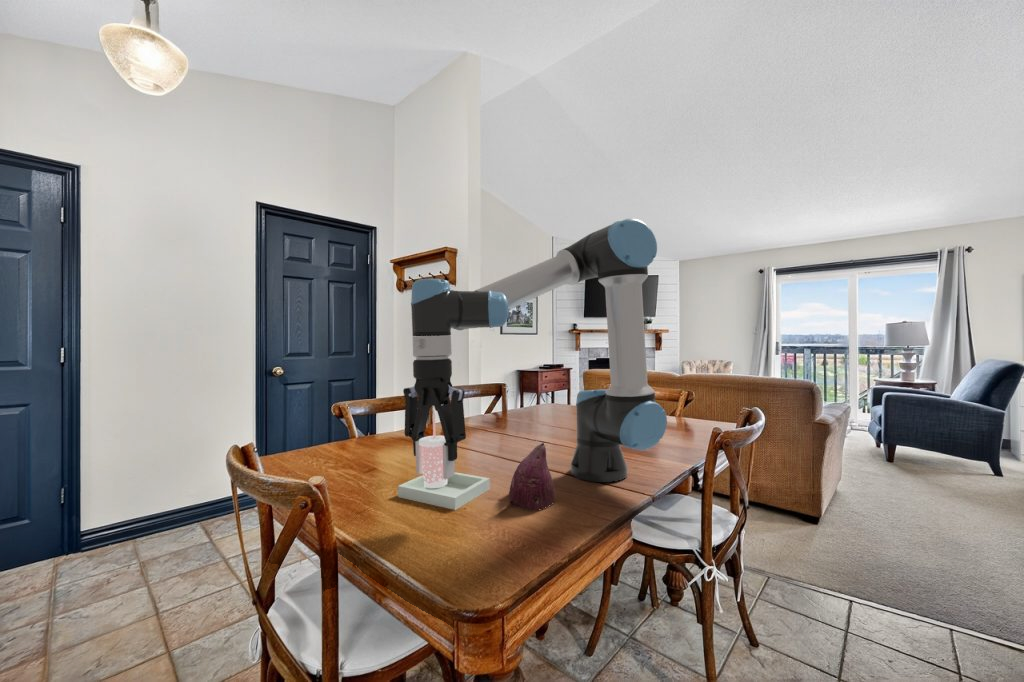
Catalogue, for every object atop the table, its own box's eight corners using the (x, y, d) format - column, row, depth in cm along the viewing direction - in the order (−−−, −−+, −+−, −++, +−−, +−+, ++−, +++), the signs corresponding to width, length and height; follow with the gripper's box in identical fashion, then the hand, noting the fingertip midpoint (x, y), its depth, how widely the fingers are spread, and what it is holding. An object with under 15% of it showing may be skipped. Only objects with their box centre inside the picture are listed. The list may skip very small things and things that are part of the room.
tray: (489, 492, 99) (489, 478, 99) (455, 514, 87) (455, 498, 87) (436, 482, 107) (436, 469, 107) (397, 501, 94) (397, 485, 94)
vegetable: (554, 509, 97) (571, 447, 98) (546, 521, 87) (564, 452, 88) (513, 493, 100) (529, 433, 101) (500, 504, 90) (519, 437, 91)
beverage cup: (438, 476, 86) (436, 409, 86) (457, 483, 82) (455, 412, 82) (413, 485, 82) (411, 414, 82) (432, 492, 78) (431, 417, 78)
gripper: (383, 359, 83) (386, 473, 83) (460, 359, 74) (464, 487, 74) (408, 357, 90) (411, 463, 90) (483, 357, 81) (486, 475, 81)
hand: (435, 474), depth 82 cm, fingers closed on beverage cup, 6 cm apart
